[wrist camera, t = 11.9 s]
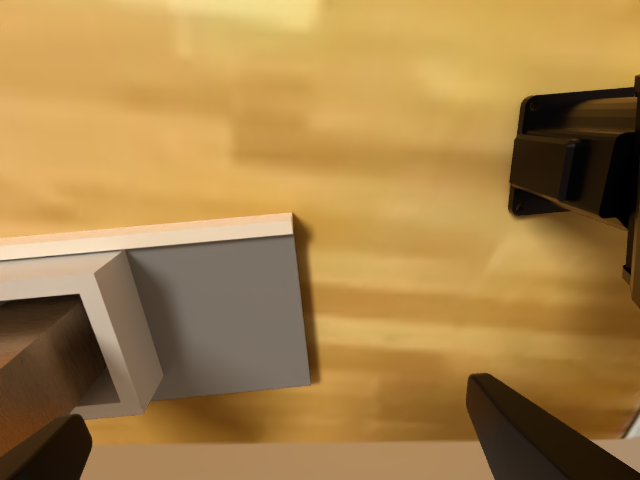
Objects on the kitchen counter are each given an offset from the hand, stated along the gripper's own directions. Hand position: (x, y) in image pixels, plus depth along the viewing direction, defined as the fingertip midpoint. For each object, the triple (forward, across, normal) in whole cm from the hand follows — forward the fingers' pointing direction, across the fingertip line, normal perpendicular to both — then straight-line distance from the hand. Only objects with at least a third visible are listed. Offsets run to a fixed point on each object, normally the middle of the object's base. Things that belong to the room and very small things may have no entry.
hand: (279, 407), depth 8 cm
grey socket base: (+13, +10, +5) cm, 17 cm away
